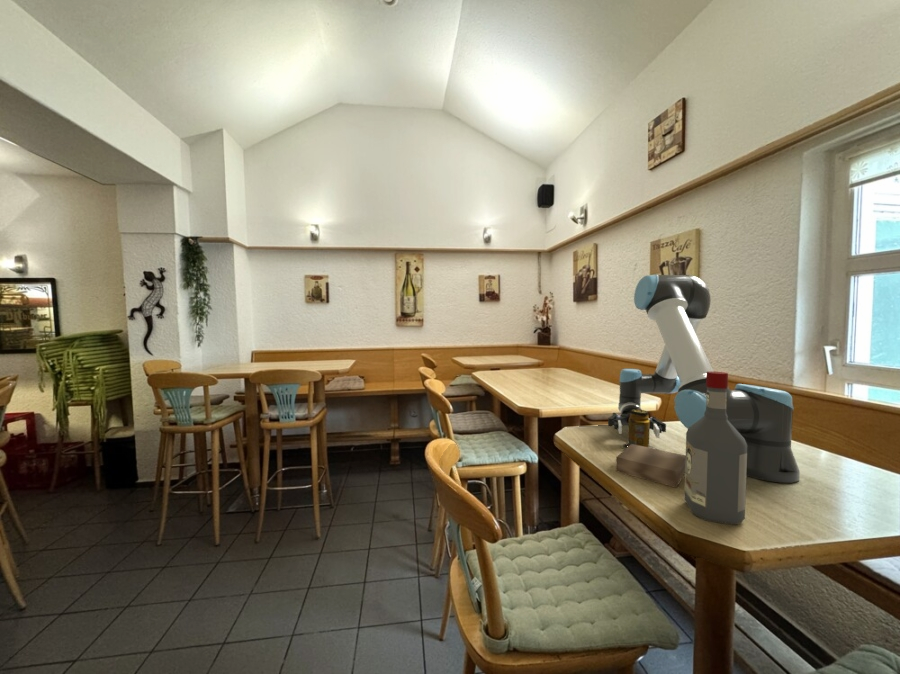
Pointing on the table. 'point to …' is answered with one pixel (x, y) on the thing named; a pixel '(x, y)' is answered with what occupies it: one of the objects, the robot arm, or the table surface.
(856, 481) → the table surface
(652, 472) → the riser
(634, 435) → the condiment
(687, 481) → the liquor
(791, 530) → the table surface
